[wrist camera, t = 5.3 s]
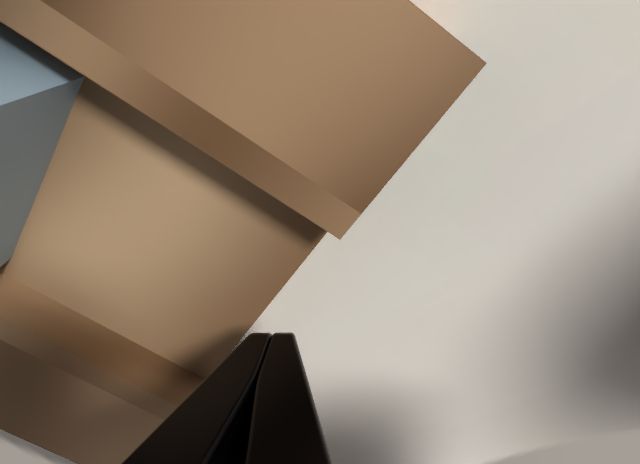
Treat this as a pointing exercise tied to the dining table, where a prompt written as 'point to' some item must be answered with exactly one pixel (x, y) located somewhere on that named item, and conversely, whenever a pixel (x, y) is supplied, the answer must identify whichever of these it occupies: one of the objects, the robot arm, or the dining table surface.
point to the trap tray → (195, 190)
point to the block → (28, 126)
